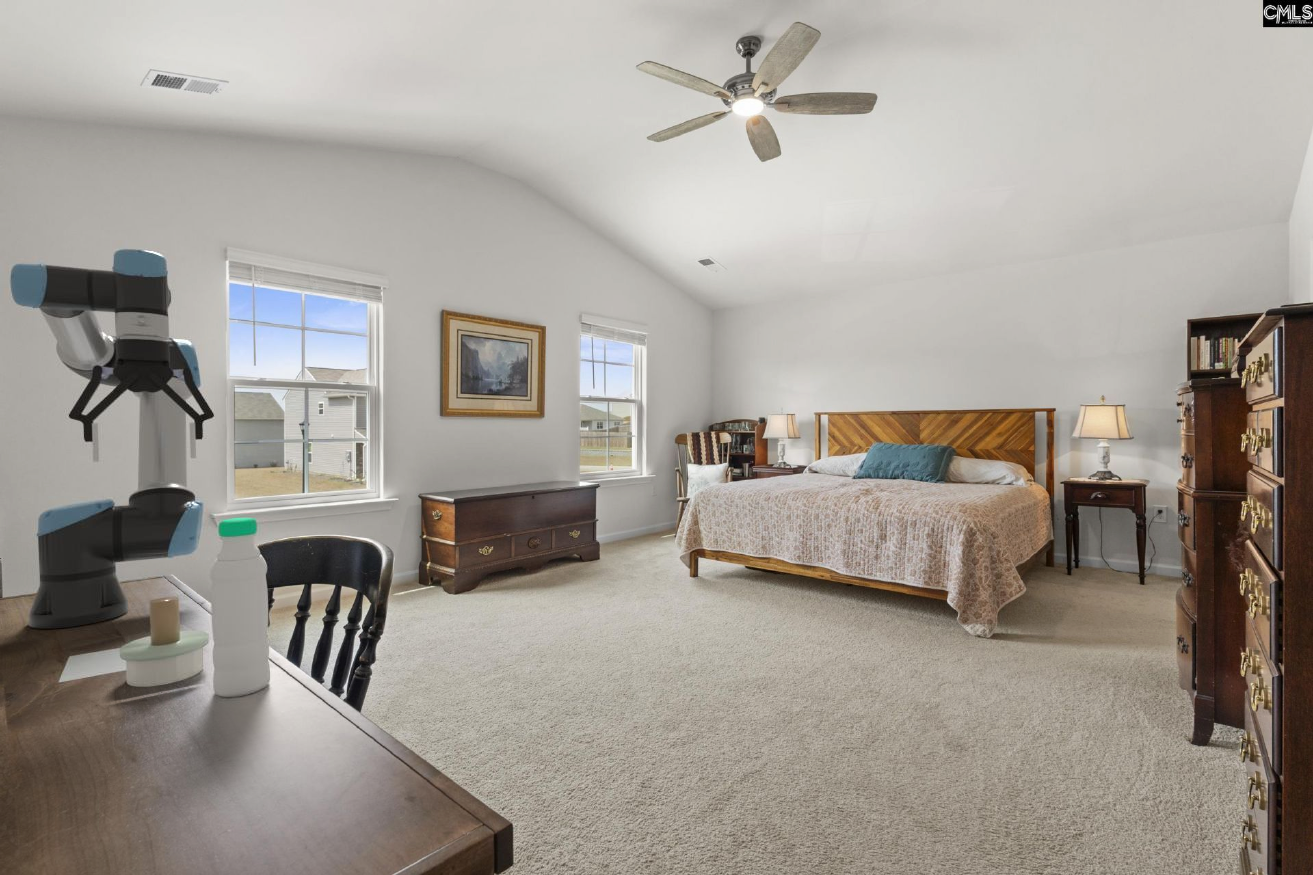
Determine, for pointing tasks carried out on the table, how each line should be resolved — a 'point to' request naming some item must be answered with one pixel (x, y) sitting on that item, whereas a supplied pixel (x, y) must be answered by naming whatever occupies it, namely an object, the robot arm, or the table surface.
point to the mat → (93, 665)
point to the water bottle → (239, 612)
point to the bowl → (164, 669)
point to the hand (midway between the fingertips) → (146, 459)
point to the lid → (164, 635)
